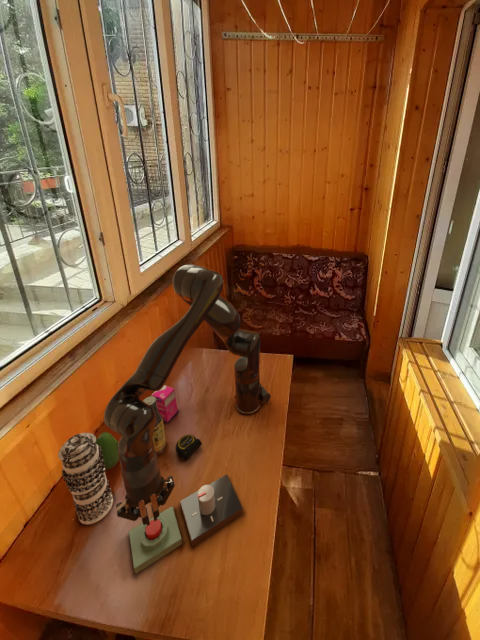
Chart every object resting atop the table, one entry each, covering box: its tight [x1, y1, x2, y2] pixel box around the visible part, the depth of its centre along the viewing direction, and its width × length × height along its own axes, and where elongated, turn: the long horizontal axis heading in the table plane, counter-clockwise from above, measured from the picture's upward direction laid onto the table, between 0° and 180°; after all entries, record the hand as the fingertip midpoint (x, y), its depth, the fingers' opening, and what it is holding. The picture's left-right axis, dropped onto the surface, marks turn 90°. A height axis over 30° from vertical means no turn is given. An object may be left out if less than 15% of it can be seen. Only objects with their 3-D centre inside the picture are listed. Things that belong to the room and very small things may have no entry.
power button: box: [145, 519, 162, 540], centre depth 78 cm, size 4×4×2 cm
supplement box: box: [151, 385, 179, 424], centre depth 115 cm, size 6×6×12 cm
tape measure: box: [175, 434, 203, 461], centre depth 103 cm, size 7×7×4 cm
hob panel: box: [179, 473, 244, 548], centre depth 86 cm, size 14×11×3 cm
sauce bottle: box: [142, 395, 167, 456], centre depth 101 cm, size 6×6×20 cm
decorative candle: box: [57, 432, 114, 525], centre depth 83 cm, size 9×9×25 cm
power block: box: [128, 505, 183, 575], centre depth 79 cm, size 11×9×4 cm
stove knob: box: [197, 484, 216, 515], centre depth 84 cm, size 4×4×6 cm
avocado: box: [96, 431, 120, 471], centre depth 96 cm, size 8×8×12 cm
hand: (151, 519), depth 77 cm, fingers closed
